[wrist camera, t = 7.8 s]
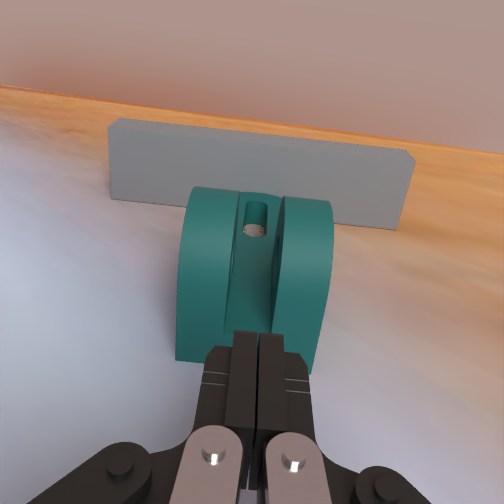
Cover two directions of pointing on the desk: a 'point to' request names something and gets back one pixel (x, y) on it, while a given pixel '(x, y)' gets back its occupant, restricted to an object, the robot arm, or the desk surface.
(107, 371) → the desk surface
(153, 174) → the board
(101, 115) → the desk surface
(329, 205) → the bracket
